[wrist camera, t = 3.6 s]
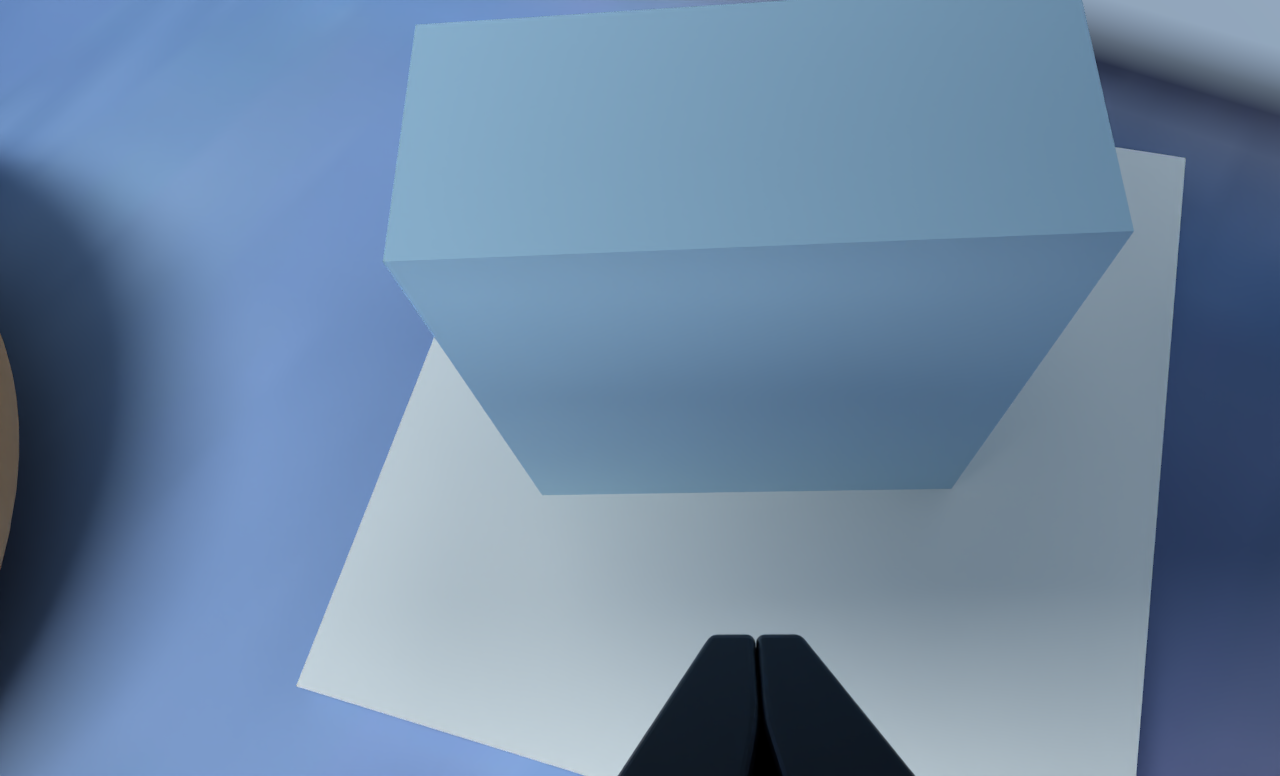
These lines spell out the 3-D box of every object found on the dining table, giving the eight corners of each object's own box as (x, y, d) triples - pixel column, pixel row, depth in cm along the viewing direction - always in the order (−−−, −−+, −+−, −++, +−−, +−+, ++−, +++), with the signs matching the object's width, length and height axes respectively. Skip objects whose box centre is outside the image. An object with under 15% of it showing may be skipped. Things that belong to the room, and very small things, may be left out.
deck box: (951, 488, 16) (1133, 230, 8) (542, 495, 16) (383, 261, 9) (931, 328, 17) (1078, -19, 10) (550, 341, 18) (415, 23, 10)
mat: (1107, 935, 14) (1123, 942, 13) (311, 689, 16) (295, 686, 16) (1171, 176, 18) (1185, 157, 18) (549, 77, 21) (544, 58, 20)
